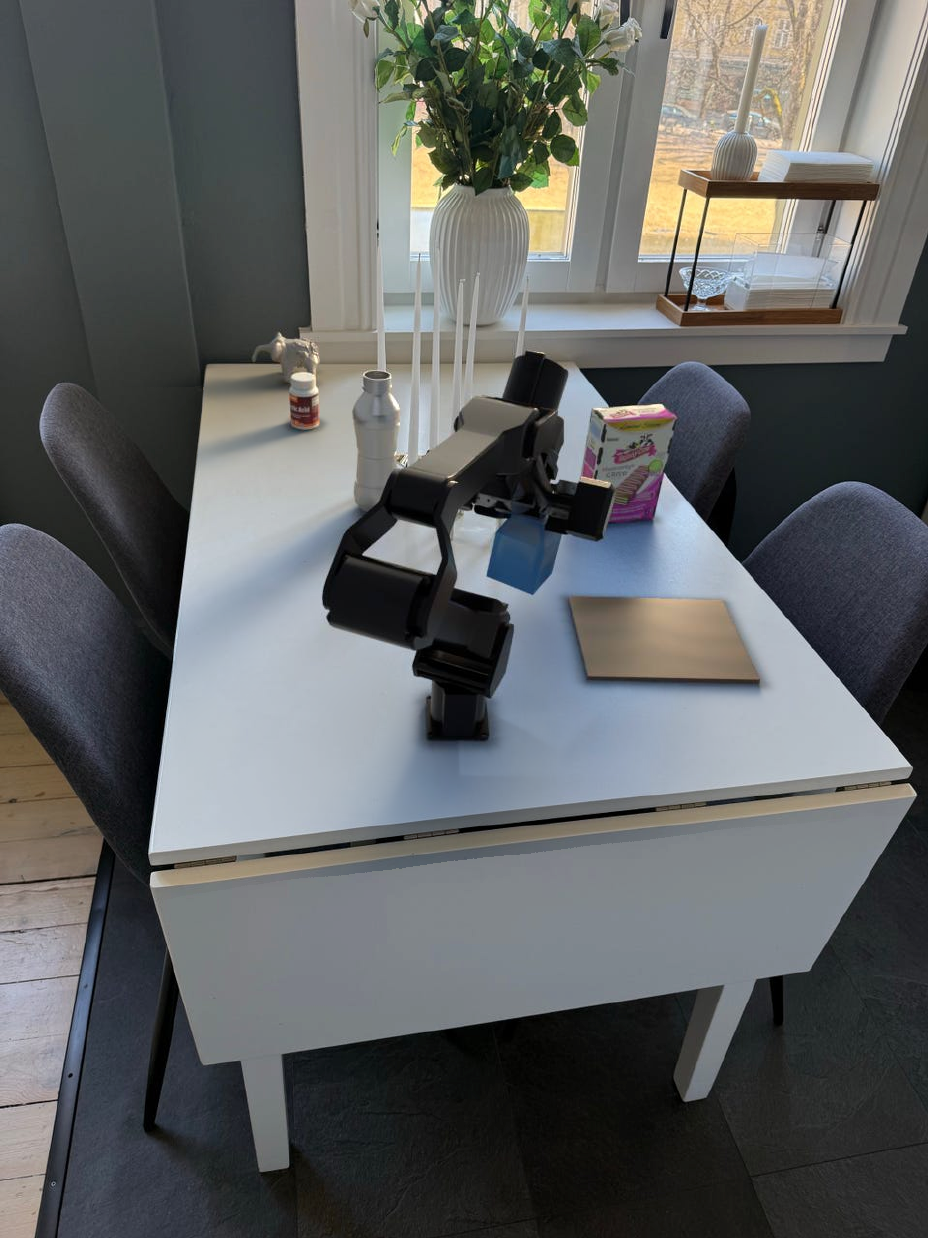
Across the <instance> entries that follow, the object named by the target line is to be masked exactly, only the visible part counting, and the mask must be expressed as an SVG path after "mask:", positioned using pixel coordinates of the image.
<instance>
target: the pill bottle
mask: <svg viewBox="0 0 928 1238" xmlns="http://www.w3.org/2000/svg"><path fill="white" fill-rule="evenodd" d="M288 394H289V413H290V425H291V426H292V427H293V428H294V429H298V430H304V431H308V430H312V429H315V428H317V427H319V425H320V407H319V406H320V405H319V404H320V403H319V388H318V387H317V377H315V375H313V374H311V373H308V372H307V371H306V372H305V371H299V372H295V373H292V376H291V383H290V387H289V390H288Z"/></svg>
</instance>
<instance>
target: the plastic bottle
mask: <svg viewBox="0 0 928 1238" xmlns="http://www.w3.org/2000/svg"><path fill="white" fill-rule="evenodd" d="M361 388H362V390H363V392H362V393H361V395H360V396H358V398H357V399H356V401H355V403H354V404H353V407H352V411H351V415H352V420H353V428H354V433H355V440H356V442H355V443H356V449H357V450H356V455H357V459H356V471H355V472H356V473H355V479H354V485H353V496H354V502H355V504H356V505H357V506H358V508H359V509H360V510H361V511H363V512H365V513H366V512H368V511H369V510H370V509H371V508H372V507H373V506H374V505H376V504H377V503H378V502H379V500H380V498H381V495H382V492H383V490H384V487H385V485H386V482H387V480H388V478H389V476H390V474H391V472H392V471H393V470H394V469H397V468H398V467H397V466H398V465H397V450H398V449H397V448H398V447H397V446H398V438H399V432H400V425H401V417H402V412H401V408H400V406H399V404H398V402H397V401H396V399H395V398H394V396H393V395H392V393H391V392H390V391H392V389H393V384H392V374H391V373H390V372H389V371H385V370H380V369H372V370H367V371H365V372H364V373H363V375H362V384H361Z"/></svg>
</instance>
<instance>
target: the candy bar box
mask: <svg viewBox="0 0 928 1238" xmlns="http://www.w3.org/2000/svg"><path fill="white" fill-rule="evenodd" d="M677 419H678V417H677V416H676V415H675V413H673V412H672V411H671V410H669V409H668V408H667V407H666V406H664V405H663V404H662V403H656V404H654V403H653V404H642V405H641V404H638V405H626V406H608V407H592V408H591V411H590V416H589V424H588V428H587V429H588V430H587V435H586V440H585V447H584V453H583V460H582V465H581V472H580V476H579V479H580V478H581V477H586V478H590V479H595V480H599V481H604V482H608V483H612V485H613V487H614V488H615V491H616V497H615V500H614V504H613V507H612V510H611V514H610V517H609V521H608V524H607V525H609V524H618V523H628V522H637V521H645V520H648V521H649V520H653V519H655V515H656V512H657V506H658V502H659V498H660V494H661V489H662V484H663V481H664V476H665V472H666V468H667V464H668V463H667V462H668V458H669V454H670V449H671V446H672V442H673V437H674V433H675V428H676V425H677V424H676V423H677Z"/></svg>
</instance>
